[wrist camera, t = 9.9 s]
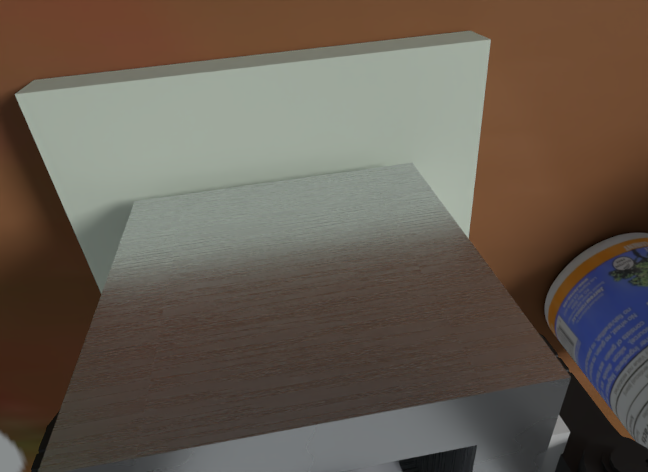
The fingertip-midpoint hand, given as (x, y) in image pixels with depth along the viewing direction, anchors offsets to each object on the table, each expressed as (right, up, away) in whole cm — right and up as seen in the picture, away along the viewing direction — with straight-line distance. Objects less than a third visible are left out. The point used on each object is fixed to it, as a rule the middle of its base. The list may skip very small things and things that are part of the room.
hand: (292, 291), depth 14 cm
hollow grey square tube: (0, 0, 0) cm, 0 cm away
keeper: (0, +1, +1) cm, 2 cm away
